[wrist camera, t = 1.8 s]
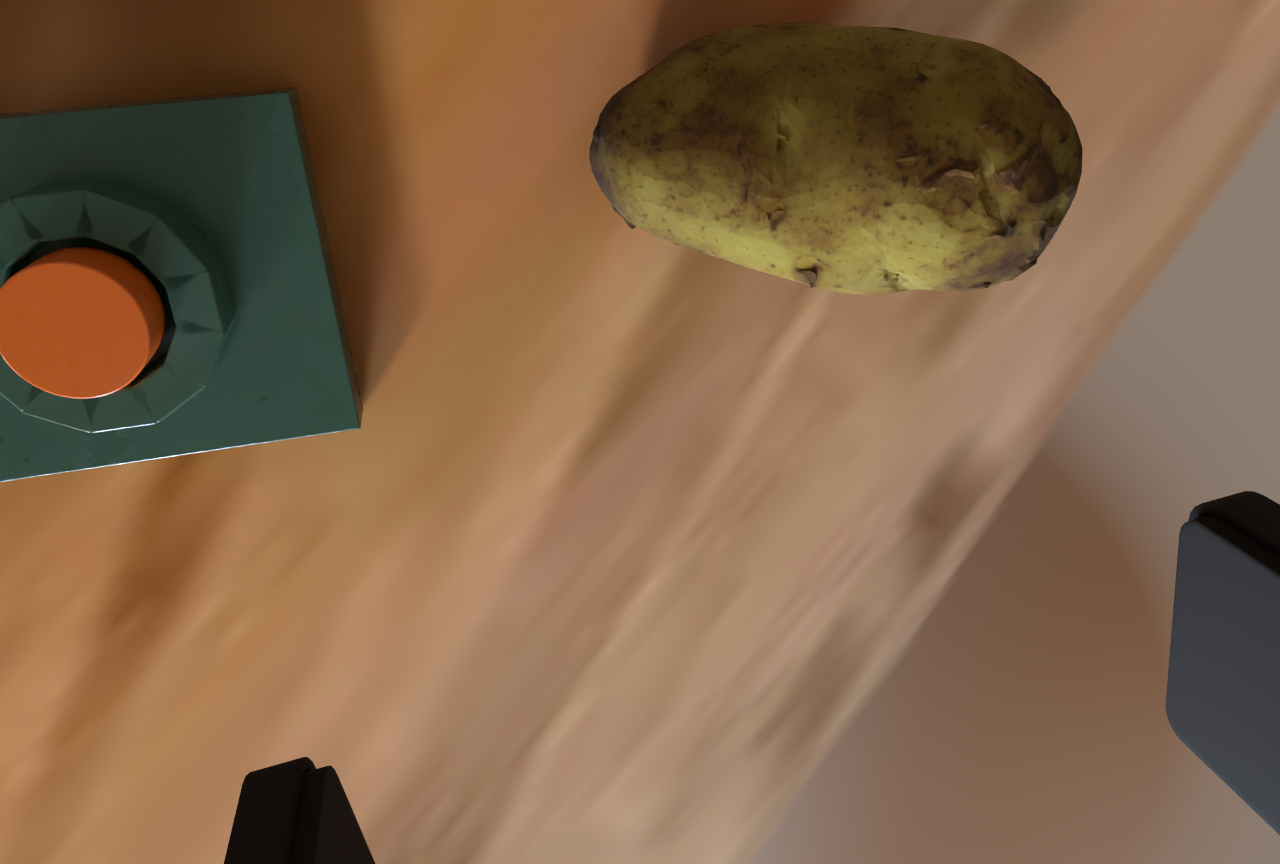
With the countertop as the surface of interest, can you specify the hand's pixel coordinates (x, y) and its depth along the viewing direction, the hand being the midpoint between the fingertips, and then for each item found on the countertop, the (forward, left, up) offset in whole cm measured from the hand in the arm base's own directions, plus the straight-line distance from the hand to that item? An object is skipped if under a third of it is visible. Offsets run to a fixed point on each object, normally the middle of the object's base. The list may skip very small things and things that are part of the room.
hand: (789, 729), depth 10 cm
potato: (+8, +4, -23) cm, 25 cm away
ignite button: (-12, -2, -20) cm, 23 cm away
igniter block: (-12, -2, -23) cm, 26 cm away
